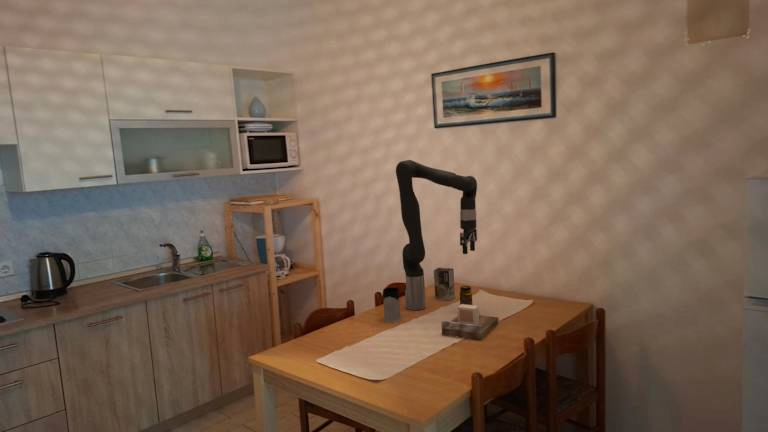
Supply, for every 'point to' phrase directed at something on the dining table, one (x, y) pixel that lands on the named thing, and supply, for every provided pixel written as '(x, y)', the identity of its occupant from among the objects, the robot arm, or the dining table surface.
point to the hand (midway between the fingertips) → (468, 252)
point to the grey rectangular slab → (470, 327)
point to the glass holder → (391, 305)
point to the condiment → (465, 295)
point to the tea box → (468, 314)
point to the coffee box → (444, 283)
